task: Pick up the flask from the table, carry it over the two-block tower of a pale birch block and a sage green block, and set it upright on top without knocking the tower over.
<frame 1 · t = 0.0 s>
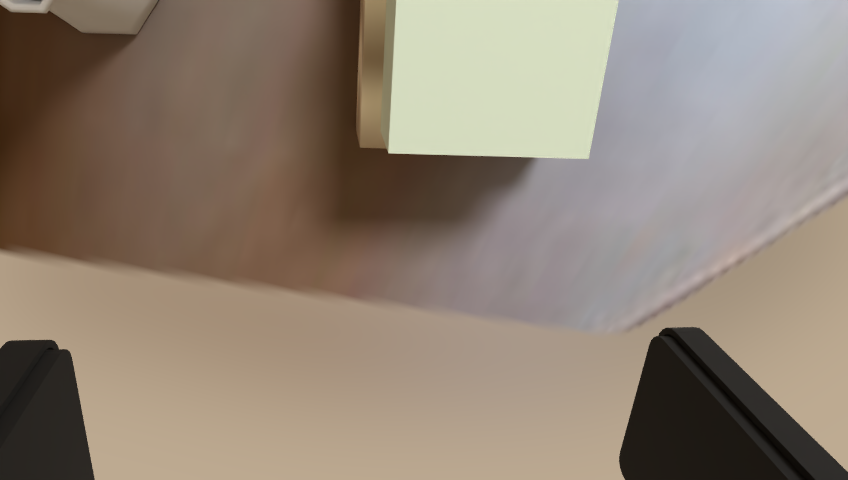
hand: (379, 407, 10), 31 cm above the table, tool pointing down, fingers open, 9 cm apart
birch base block: (463, 29, 39), on the table
sage top block: (482, 37, 35), point 4 cm above the table
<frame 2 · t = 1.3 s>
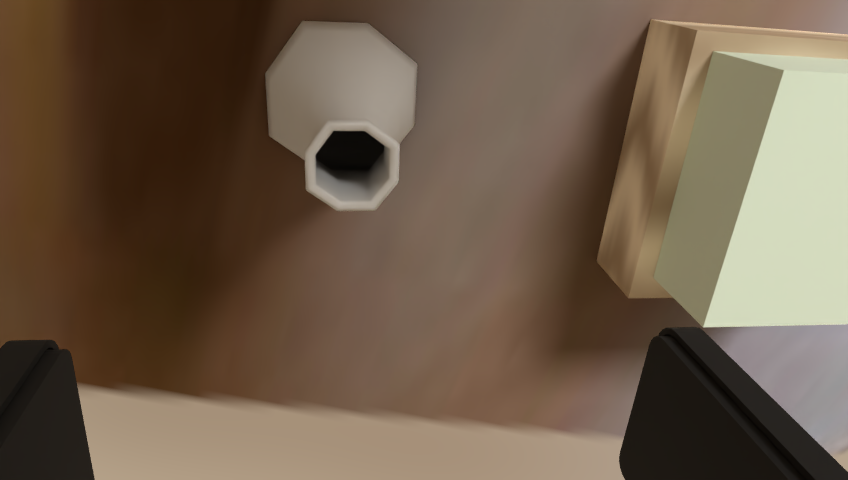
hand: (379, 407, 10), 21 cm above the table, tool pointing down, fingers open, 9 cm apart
birch base block: (728, 152, 34), on the table, touching sage top block
flask: (342, 97, 29), on the table
sage top block: (785, 176, 30), point 4 cm above the table, touching birch base block
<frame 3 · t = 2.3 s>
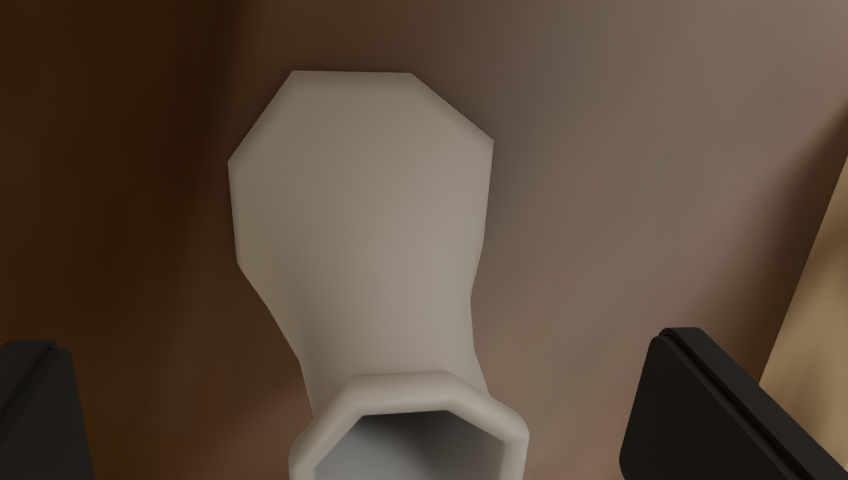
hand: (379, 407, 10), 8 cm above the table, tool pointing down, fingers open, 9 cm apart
flask: (362, 195, 17), on the table
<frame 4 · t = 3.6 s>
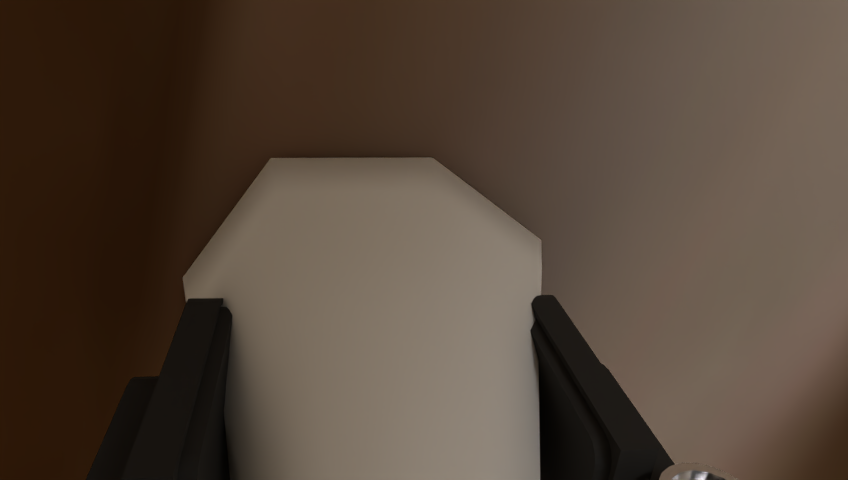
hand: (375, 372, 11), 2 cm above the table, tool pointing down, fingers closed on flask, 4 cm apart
flask: (366, 309, 13), on the table, touching gripper
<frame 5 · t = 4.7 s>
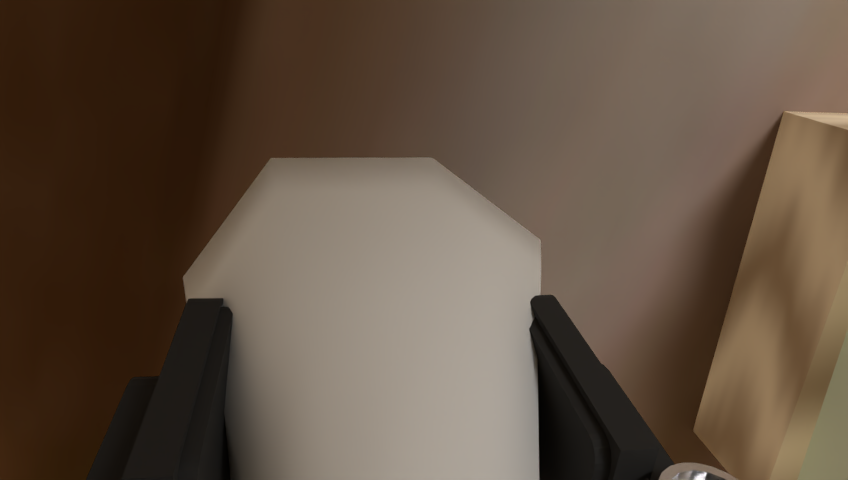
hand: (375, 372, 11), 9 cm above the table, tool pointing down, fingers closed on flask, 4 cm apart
flask: (366, 309, 13), point 7 cm above the table, touching gripper
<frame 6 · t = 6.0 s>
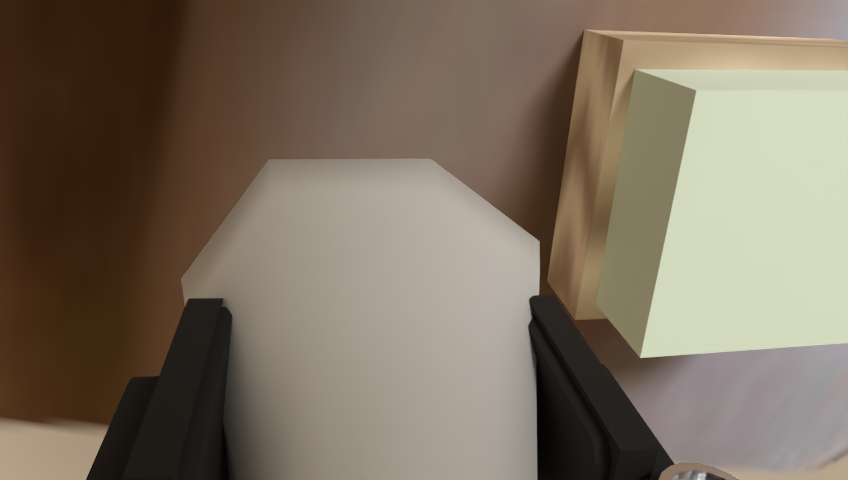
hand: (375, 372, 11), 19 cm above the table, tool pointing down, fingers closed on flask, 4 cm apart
birch base block: (678, 163, 32), on the table
flask: (364, 310, 13), point 17 cm above the table, touching gripper
sage top block: (726, 192, 28), point 4 cm above the table
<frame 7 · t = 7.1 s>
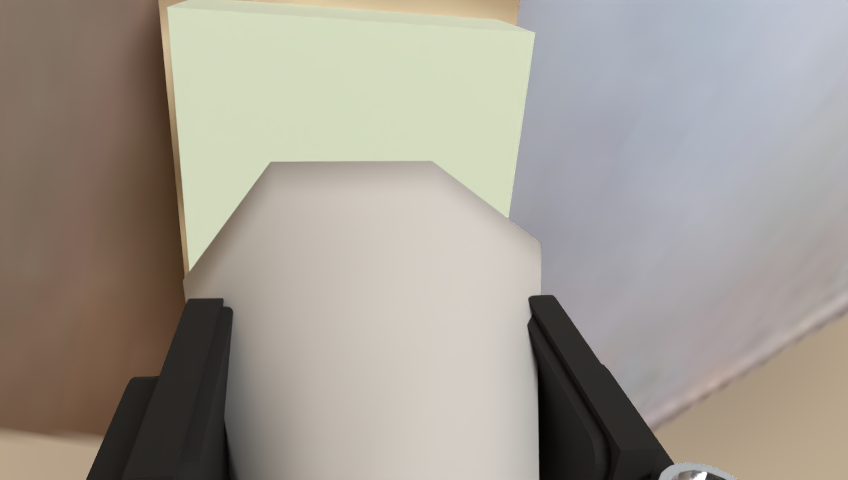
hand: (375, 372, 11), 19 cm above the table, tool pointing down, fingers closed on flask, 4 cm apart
birch base block: (339, 121, 29), on the table, touching sage top block
flask: (366, 312, 13), point 17 cm above the table, touching gripper
sage top block: (348, 154, 25), point 4 cm above the table, touching birch base block
when the fingers open (12 cm above the table, at t = 9.0 s): flask drops 2 cm, resting on sage top block.
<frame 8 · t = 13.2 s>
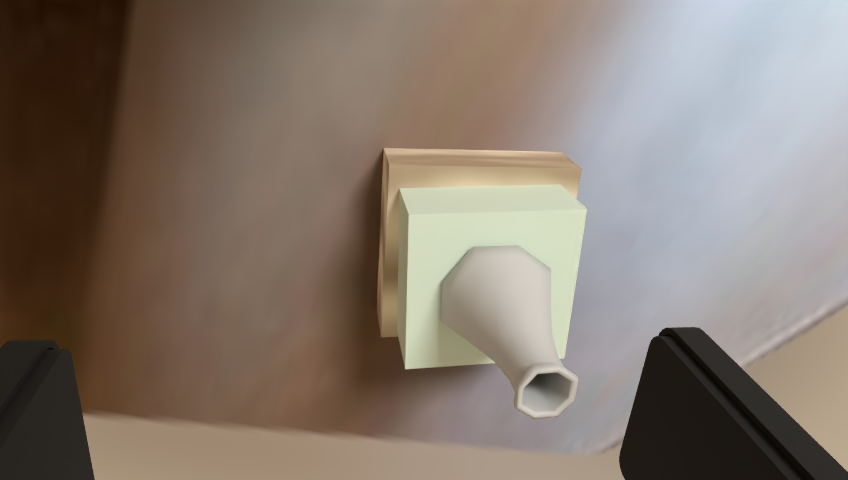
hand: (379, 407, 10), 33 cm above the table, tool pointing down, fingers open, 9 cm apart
birch base block: (464, 230, 47), on the table, touching sage top block
flask: (493, 291, 39), point 8 cm above the table, touching sage top block
sage top block: (476, 260, 43), point 4 cm above the table, touching birch base block, flask
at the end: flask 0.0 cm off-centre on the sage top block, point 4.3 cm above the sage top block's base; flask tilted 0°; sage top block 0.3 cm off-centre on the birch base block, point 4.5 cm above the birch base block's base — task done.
